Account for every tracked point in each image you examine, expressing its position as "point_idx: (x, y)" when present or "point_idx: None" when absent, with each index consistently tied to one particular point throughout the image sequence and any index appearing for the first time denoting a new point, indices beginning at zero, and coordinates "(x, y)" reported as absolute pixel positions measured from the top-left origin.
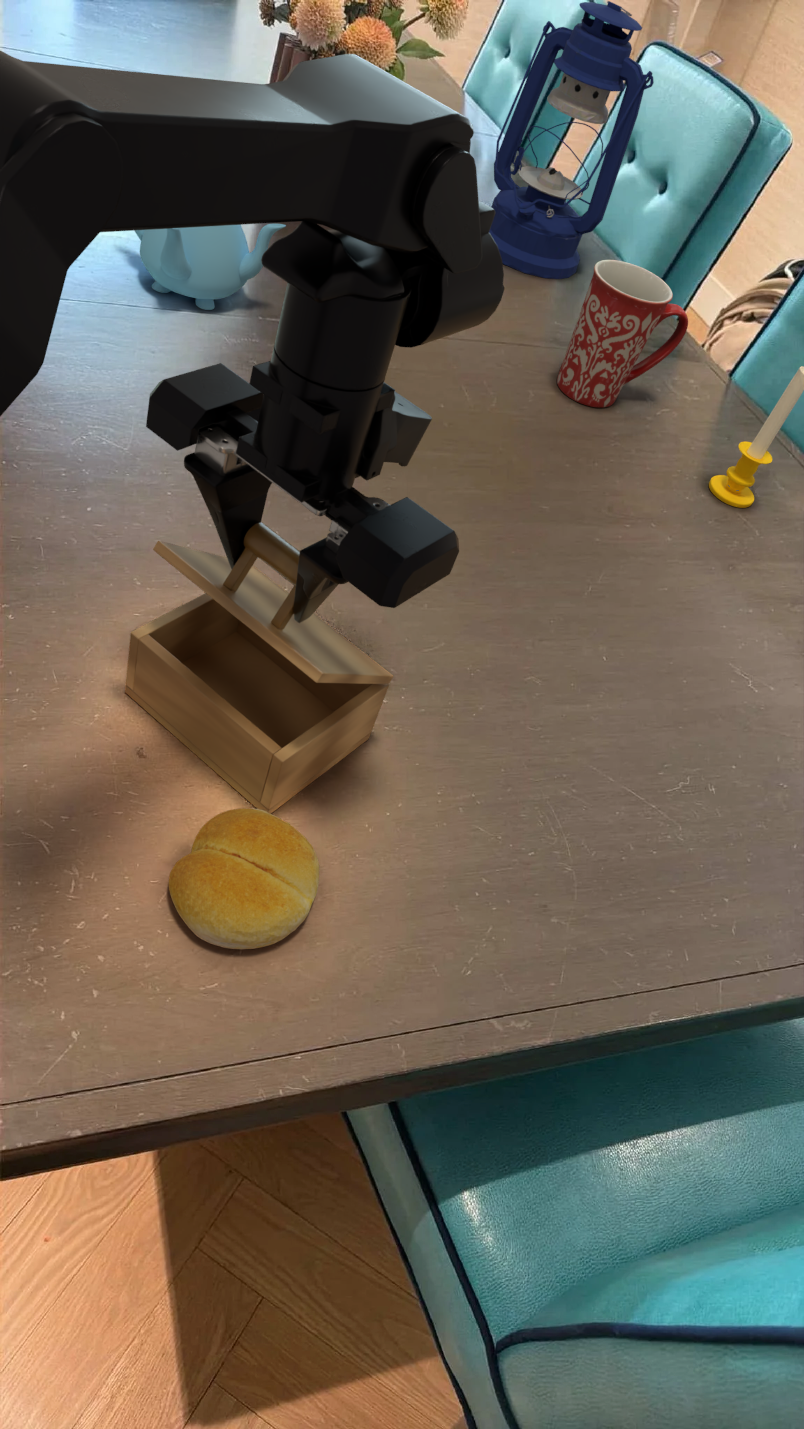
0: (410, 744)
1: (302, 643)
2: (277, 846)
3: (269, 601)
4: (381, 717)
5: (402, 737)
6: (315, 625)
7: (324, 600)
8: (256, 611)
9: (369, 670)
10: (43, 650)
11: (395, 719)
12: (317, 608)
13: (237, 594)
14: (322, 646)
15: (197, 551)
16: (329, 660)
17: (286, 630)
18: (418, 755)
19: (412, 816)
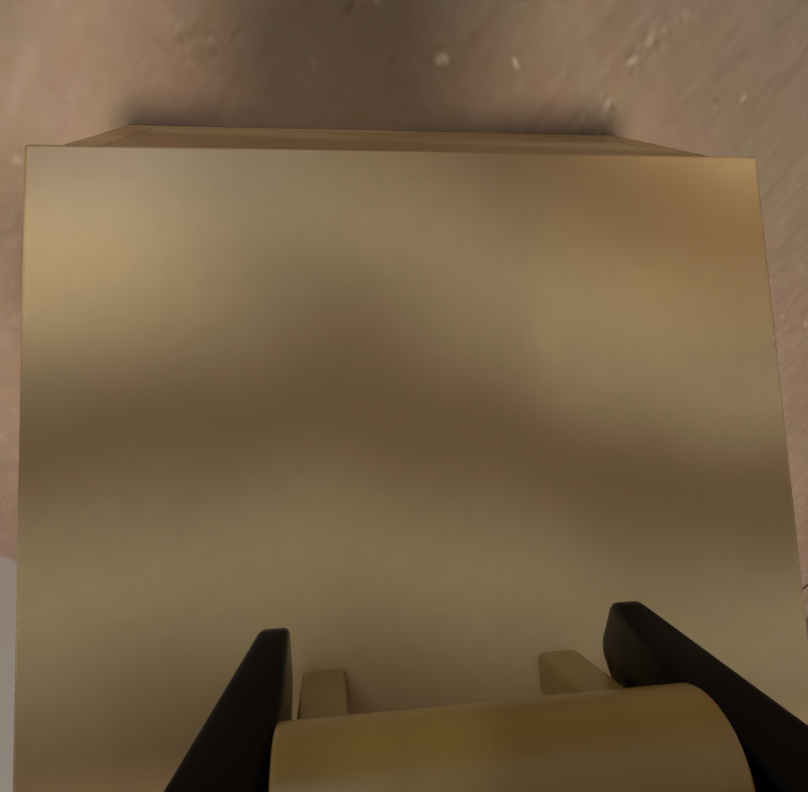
0: (705, 55)
1: None
2: None
3: (368, 460)
4: (604, 39)
5: (679, 52)
6: (491, 298)
7: (729, 670)
8: (473, 695)
9: (749, 319)
10: (3, 510)
11: (637, 10)
12: (680, 633)
13: (364, 685)
14: (641, 475)
15: (35, 574)
16: (730, 564)
17: (574, 627)
18: (736, 69)
19: (783, 232)
